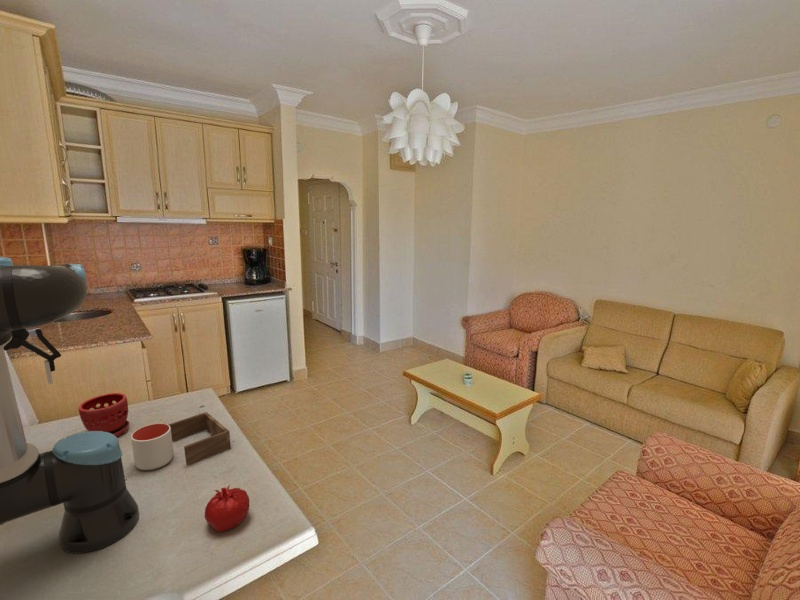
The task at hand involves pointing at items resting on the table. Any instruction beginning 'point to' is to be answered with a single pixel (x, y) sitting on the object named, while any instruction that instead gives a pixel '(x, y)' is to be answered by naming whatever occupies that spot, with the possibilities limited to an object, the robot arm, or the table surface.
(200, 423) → the box
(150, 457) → the cup
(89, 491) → the robot arm
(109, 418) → the plant pot
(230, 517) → the pomegranate
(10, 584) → the table surface
